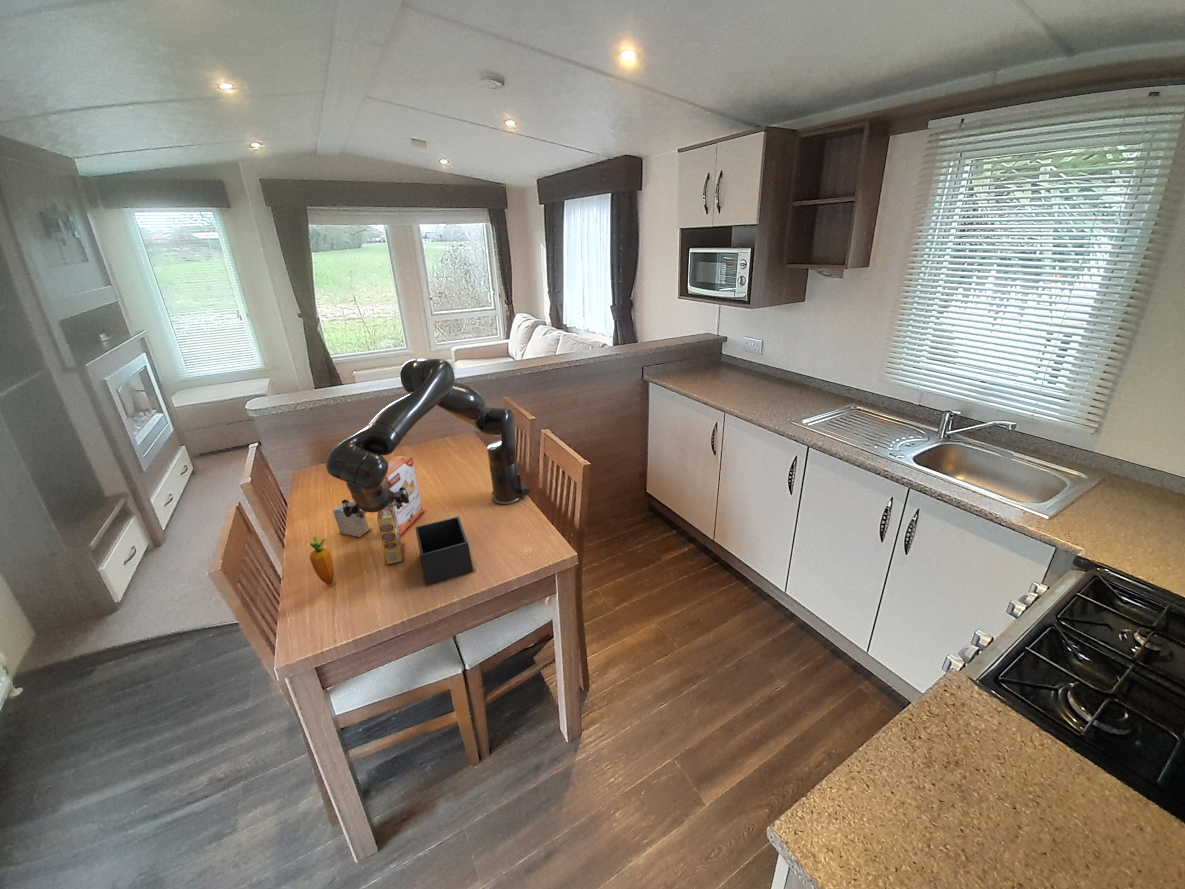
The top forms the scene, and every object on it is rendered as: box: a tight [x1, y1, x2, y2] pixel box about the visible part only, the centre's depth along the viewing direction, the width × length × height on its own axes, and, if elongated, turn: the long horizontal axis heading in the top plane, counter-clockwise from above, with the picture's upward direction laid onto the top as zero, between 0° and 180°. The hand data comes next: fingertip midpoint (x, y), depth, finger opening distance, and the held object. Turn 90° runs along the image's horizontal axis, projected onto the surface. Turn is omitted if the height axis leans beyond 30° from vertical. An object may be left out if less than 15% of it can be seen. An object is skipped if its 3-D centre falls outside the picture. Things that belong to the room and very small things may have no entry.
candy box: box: [377, 506, 403, 565], centre depth 136 cm, size 9×4×15 cm, turn 20°
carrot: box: [309, 536, 335, 586], centre depth 125 cm, size 5×5×15 cm
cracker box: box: [385, 455, 424, 536], centre depth 150 cm, size 14×6×21 cm, turn 168°
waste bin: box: [414, 515, 474, 586], centre depth 133 cm, size 12×14×10 cm
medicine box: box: [332, 504, 370, 538], centre depth 149 cm, size 8×4×9 cm, turn 71°
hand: (380, 509), depth 119 cm, fingers open, 8 cm apart
